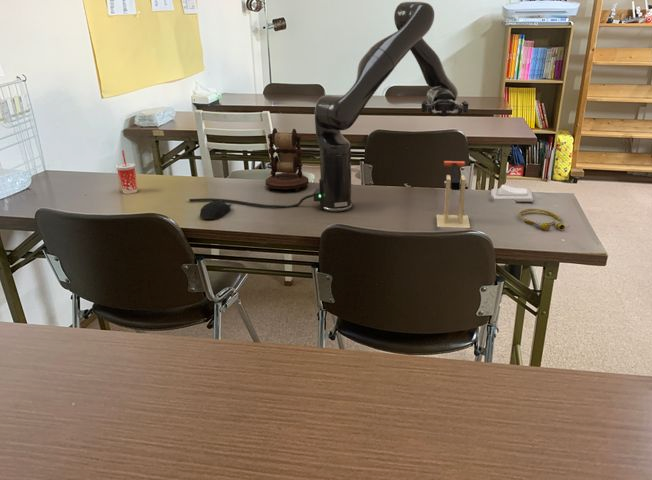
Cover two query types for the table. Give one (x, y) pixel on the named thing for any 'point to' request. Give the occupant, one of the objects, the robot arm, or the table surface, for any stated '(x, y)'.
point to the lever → (455, 173)
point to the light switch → (513, 193)
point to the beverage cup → (127, 176)
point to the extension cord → (541, 224)
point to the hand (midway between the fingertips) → (445, 110)
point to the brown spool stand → (285, 161)
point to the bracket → (459, 219)
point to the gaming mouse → (214, 210)
